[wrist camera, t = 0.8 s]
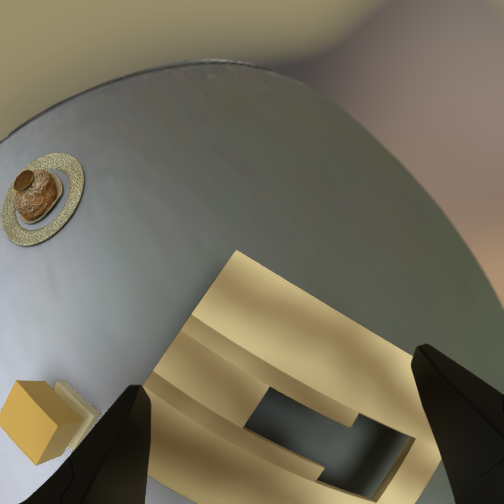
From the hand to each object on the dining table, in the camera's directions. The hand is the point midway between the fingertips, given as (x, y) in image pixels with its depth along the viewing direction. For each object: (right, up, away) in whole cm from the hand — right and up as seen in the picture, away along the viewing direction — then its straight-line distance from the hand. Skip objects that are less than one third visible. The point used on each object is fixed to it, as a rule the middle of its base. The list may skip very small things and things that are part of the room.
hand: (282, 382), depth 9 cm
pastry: (-25, +10, +19) cm, 33 cm away
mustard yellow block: (-17, -10, +11) cm, 23 cm away
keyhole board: (+3, -10, +13) cm, 17 cm away
